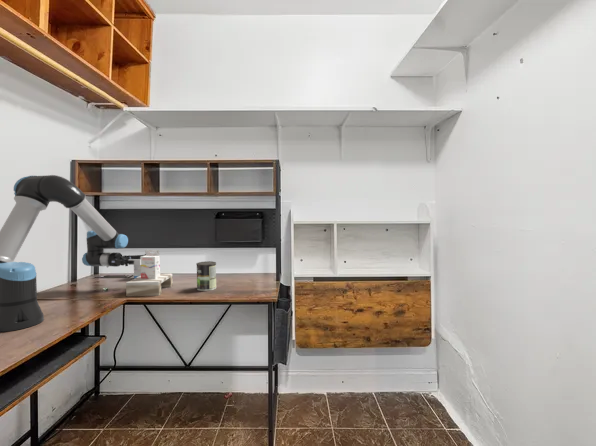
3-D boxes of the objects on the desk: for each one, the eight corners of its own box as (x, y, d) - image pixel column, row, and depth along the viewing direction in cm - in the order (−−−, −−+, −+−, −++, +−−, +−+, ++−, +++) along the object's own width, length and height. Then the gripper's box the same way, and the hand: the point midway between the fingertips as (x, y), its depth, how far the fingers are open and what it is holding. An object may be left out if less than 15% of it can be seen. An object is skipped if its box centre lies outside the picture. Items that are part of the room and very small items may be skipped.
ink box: (145, 280, 192) (145, 258, 191) (133, 280, 193) (132, 258, 193) (154, 277, 200) (154, 256, 199) (143, 277, 202) (142, 256, 201)
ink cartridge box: (140, 278, 165) (139, 250, 164) (145, 276, 170) (145, 249, 169) (155, 279, 164) (154, 251, 163) (160, 276, 169) (159, 249, 168)
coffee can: (199, 292, 164) (199, 265, 163) (194, 287, 173) (194, 262, 172) (219, 289, 170) (218, 263, 169) (213, 285, 178) (212, 260, 178)
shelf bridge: (159, 295, 158) (158, 281, 158) (126, 296, 157) (125, 282, 157) (172, 285, 178) (172, 273, 178) (143, 286, 177) (143, 274, 177)
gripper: (127, 262, 182) (161, 262, 180) (94, 270, 158) (133, 271, 155) (127, 249, 182) (161, 249, 179) (94, 256, 157) (133, 256, 154)
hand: (148, 259), depth 167 cm, fingers open, 13 cm apart
